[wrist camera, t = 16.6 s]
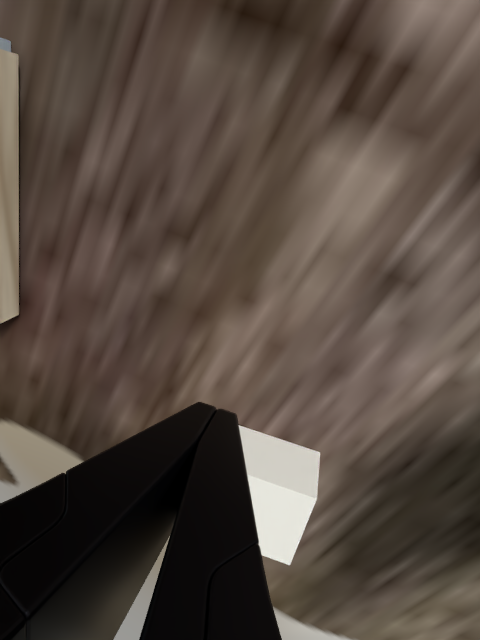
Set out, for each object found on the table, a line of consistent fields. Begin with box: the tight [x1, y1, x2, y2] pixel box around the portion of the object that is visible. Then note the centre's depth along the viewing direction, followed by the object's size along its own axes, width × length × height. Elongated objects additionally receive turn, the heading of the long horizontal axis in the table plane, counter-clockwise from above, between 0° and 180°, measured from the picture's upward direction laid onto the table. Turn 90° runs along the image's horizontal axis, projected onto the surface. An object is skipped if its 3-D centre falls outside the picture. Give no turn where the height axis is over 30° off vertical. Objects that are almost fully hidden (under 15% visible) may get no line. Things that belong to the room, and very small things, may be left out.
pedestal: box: [239, 425, 320, 565], centre depth 23 cm, size 5×5×4 cm
